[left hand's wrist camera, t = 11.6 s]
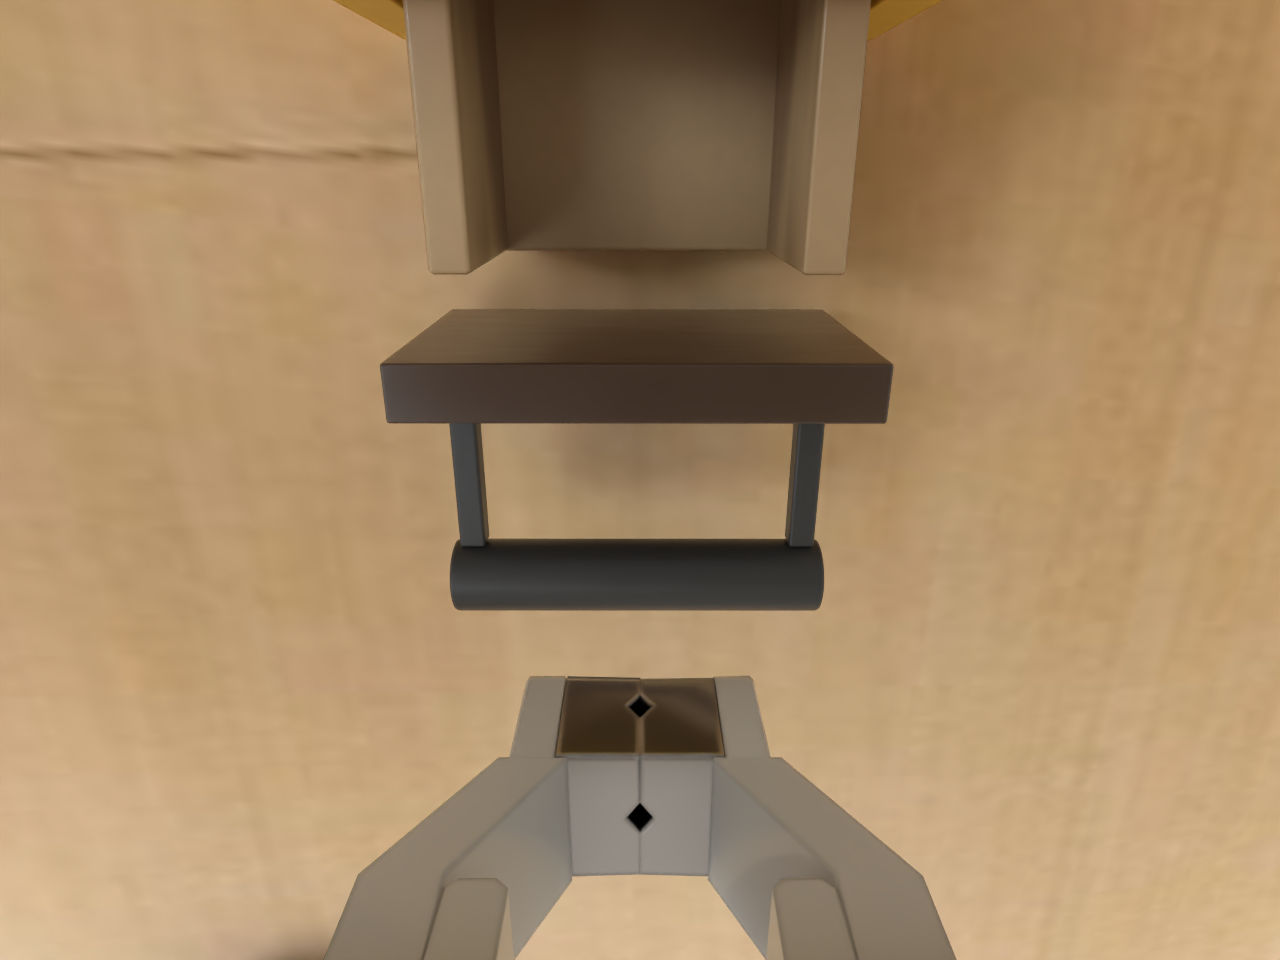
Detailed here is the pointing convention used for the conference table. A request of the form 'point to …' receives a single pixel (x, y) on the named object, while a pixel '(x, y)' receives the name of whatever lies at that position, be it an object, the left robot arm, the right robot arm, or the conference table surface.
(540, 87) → the drawer
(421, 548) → the conference table surface
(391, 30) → the cabinet
